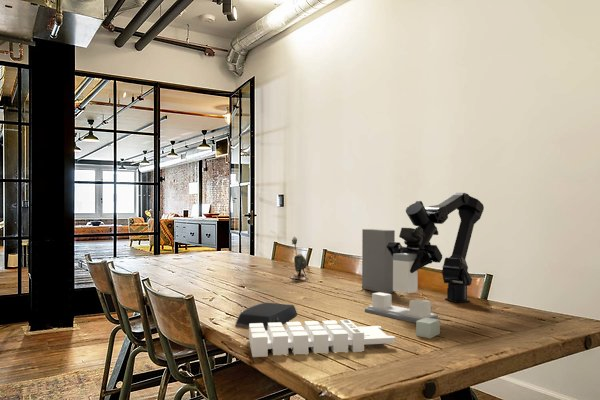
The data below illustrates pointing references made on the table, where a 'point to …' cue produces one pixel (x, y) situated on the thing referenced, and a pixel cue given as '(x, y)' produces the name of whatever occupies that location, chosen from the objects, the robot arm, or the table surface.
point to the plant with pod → (299, 263)
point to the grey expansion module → (404, 273)
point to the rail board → (400, 308)
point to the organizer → (313, 337)
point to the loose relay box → (427, 327)
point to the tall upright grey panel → (377, 260)
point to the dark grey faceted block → (266, 314)
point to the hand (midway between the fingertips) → (402, 271)
